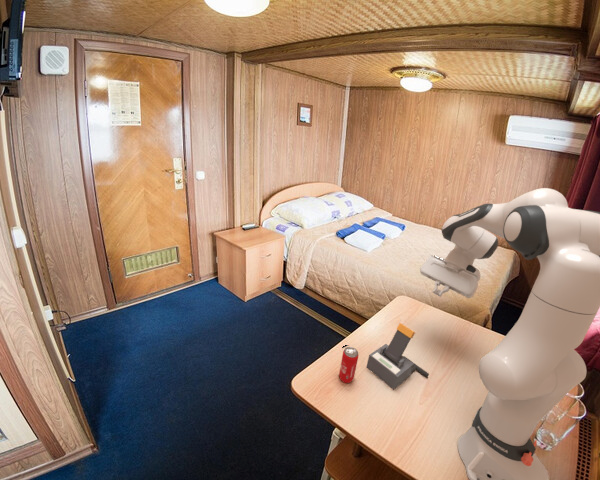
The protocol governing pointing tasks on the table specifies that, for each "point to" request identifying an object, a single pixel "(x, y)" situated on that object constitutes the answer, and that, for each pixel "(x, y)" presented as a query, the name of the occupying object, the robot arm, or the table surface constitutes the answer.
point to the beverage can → (348, 364)
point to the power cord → (418, 369)
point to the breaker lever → (399, 343)
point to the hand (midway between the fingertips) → (436, 294)
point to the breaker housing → (389, 367)
